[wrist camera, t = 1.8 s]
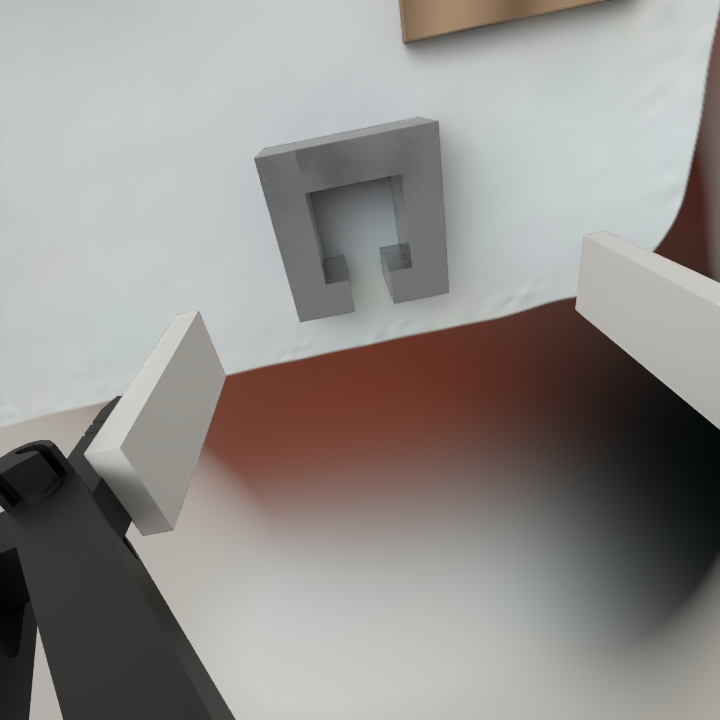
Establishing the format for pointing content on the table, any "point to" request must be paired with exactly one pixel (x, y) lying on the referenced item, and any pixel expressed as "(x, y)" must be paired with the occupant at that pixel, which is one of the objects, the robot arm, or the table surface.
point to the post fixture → (471, 14)
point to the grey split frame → (348, 166)
